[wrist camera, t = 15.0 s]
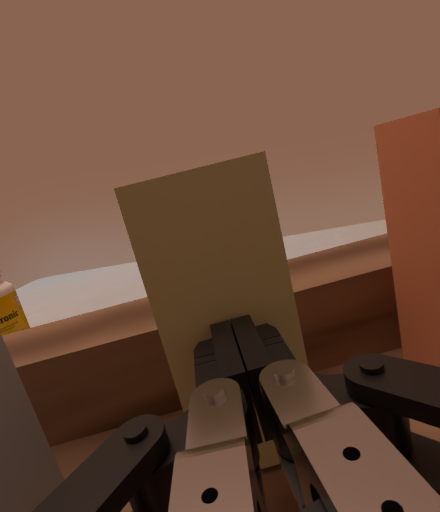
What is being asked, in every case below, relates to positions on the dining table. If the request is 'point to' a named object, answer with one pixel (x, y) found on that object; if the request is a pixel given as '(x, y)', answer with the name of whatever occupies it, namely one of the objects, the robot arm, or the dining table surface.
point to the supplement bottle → (10, 310)
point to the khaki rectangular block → (211, 260)
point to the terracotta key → (414, 227)
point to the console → (157, 367)
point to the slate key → (22, 445)
